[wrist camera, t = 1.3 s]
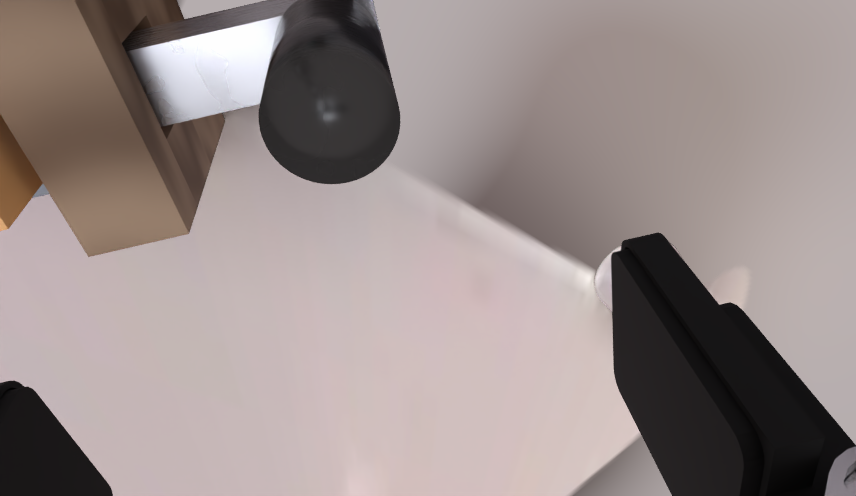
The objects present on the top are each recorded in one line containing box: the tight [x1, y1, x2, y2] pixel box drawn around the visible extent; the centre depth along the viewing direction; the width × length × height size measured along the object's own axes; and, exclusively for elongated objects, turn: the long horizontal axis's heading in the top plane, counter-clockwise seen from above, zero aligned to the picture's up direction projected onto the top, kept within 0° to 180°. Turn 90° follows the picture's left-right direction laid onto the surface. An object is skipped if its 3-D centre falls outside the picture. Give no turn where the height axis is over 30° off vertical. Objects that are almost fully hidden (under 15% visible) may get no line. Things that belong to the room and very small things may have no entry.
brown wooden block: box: [0, 0, 225, 257], centre depth 26 cm, size 10×4×11 cm, turn 11°
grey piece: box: [122, 0, 400, 184], centre depth 22 cm, size 4×19×10 cm, turn 100°
